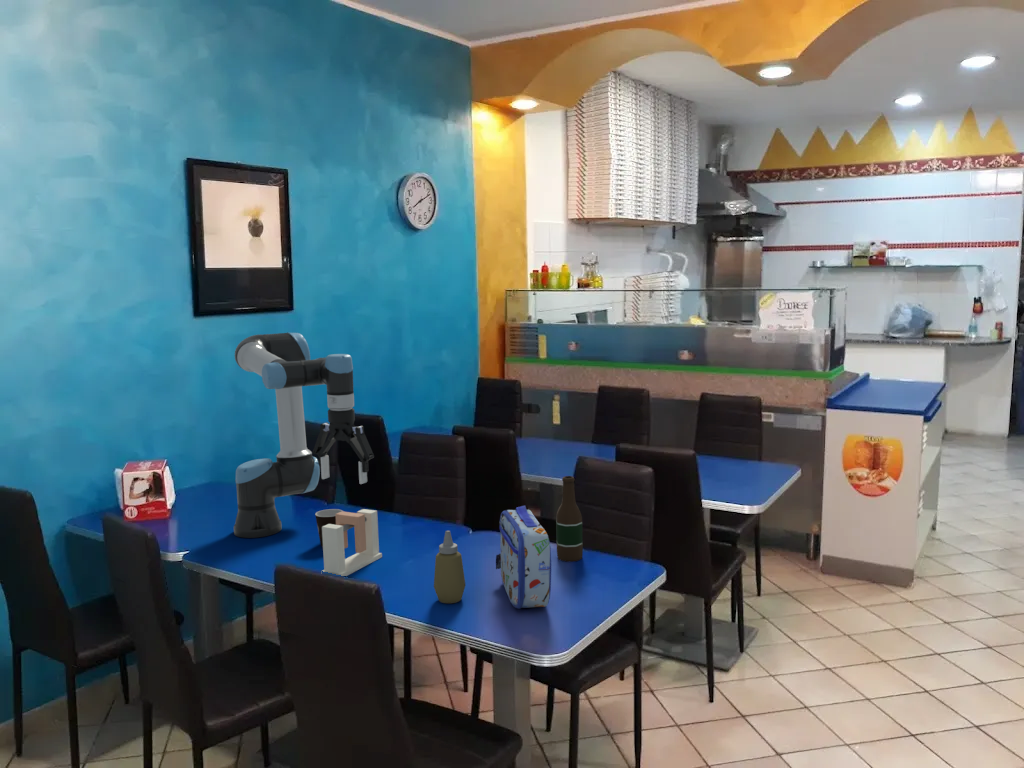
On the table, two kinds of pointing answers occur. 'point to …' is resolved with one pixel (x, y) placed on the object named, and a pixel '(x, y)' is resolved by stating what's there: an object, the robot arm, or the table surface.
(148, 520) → the table surface
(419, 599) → the table surface
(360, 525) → the arch
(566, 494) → the beer bottle
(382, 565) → the table surface
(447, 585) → the squeeze bottle
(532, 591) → the lunch box
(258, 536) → the robot arm
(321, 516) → the coffee mug
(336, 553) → the rod bracket
